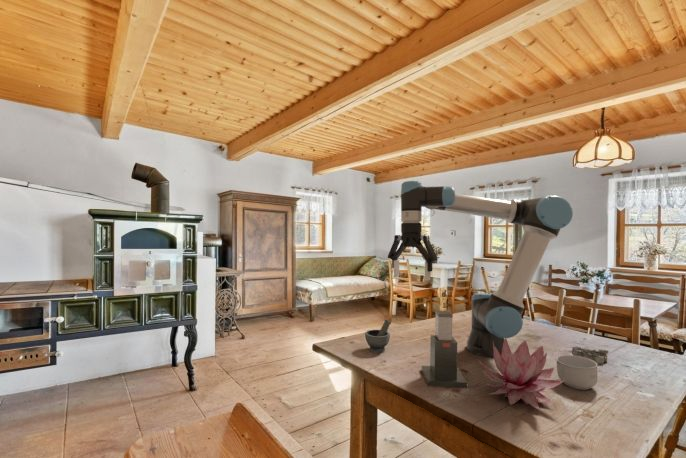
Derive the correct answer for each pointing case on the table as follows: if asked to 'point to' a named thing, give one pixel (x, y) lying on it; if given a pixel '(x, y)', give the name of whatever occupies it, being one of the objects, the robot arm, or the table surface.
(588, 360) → the teacup
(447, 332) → the steel post
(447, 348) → the sleeve
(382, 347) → the mortar and pestle
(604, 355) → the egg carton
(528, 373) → the decorative flower
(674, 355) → the table surface
